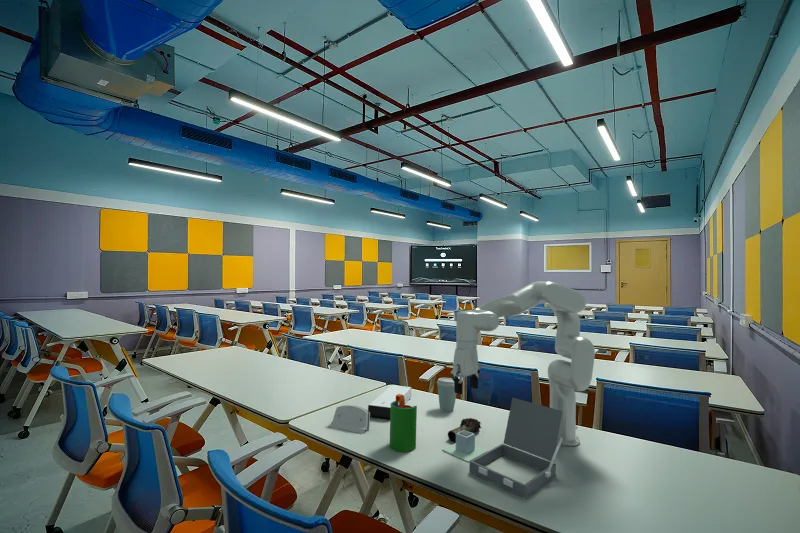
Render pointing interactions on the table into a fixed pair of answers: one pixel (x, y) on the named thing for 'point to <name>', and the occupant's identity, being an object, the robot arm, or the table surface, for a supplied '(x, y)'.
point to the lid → (533, 428)
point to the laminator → (387, 401)
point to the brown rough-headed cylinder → (465, 428)
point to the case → (520, 456)
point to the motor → (402, 425)
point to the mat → (465, 457)
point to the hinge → (351, 419)
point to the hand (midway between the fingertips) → (466, 390)
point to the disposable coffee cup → (446, 394)
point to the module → (465, 442)
